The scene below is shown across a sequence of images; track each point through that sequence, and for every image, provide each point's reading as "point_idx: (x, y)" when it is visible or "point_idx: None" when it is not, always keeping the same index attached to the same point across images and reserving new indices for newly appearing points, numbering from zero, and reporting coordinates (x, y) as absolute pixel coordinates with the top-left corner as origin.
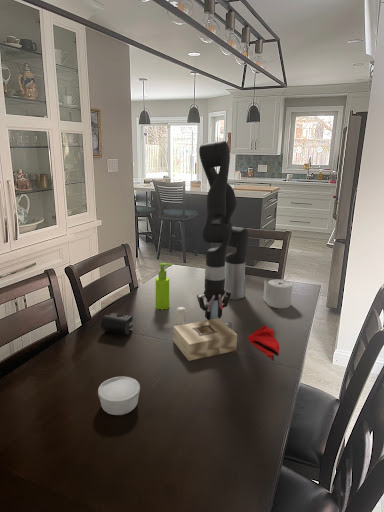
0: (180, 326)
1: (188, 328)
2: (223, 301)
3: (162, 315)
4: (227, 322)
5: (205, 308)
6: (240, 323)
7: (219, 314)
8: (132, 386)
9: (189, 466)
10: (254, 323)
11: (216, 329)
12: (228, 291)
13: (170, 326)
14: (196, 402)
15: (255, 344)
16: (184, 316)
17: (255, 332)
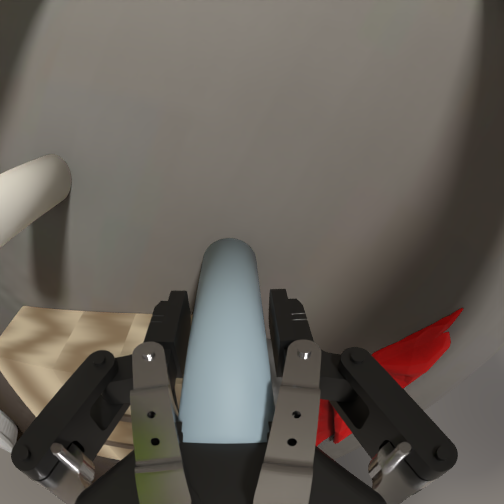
0: (13, 369)
1: (47, 395)
2: (362, 387)
3: (13, 19)
4: (274, 394)
5: (127, 405)
6: (407, 260)
7: (272, 346)
8: (2, 442)
9: (92, 482)
10: (450, 280)
11: None
12: (437, 478)
13: (9, 164)
14: (97, 461)
15: (319, 410)
16: (22, 228)
17: (387, 355)
